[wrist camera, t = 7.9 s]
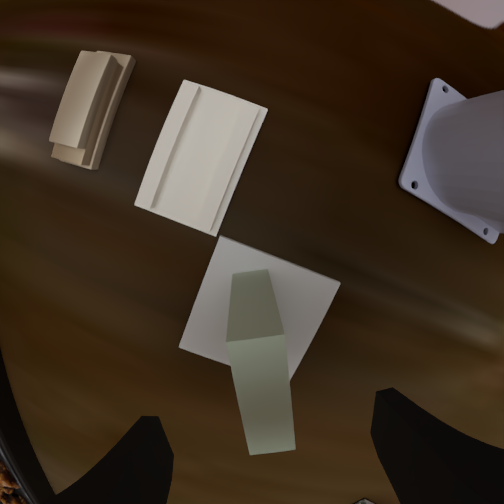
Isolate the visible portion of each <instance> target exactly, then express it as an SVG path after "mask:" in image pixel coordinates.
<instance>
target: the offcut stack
mask: <svg viewBox="0 0 504 504" xmlns="http://www.w3.org/2000/svg"><path fill="white" fill-rule="evenodd" d="M135 63H136V60H135V59H134V58H133V57H132V56H130V55H124V54H117V53H110V52H102V51H97V52H89V51H81V53H80V55H79V57H78V59H77V62H76V64H75V67H74V69H73V71H72V74H71V76H70V79H69V81H68V84H67V87H66V89H65V92H64V95H63V98H62V101H61V103H60V106H59V109H58V112H57V115H56V118H55V122H54V125H53V128H52V131H51V135H50V138H49V141H52V142H55V145H54V148H53V152H52V156H51V157H54V158H58V159H60V161H63V162H67V163H70V164H74V165H77V166H81V167H84V168H87V169H91V170H98V168H99V164H100V161H101V157H102V154H103V151H104V147H105V144H106V141H107V138H108V135H109V132H110V129H111V126H112V123H113V120H114V117H115V114H116V111H117V108H118V106H119V103H120V100H121V98H122V95H123V92H124V90H125V87H126V85H127V82H128V80H129V77H130V75H131V72H132V70H133V68H134V65H135Z"/></svg>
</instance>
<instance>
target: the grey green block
mask: <svg viewBox="0 0 504 504" xmlns="http://www.w3.org/2000/svg"><path fill="white" fill-rule="evenodd" d="M226 345H227V350H228V355H229V360H230V365H231V370H232V375H233V380H234V385H235V390H236V394H237V399H238V404H239V409H240V413H241V418H242V422H243V427H244V431H245V436H246V440H247V445H248V449H249V454H250V455H255V454H265V453H273V452H281V451H288V450H295V437H294V425H293V414H292V403H291V392H290V381H289V371H288V361H287V351H286V341H285V333H284V329H283V325H282V322H281V318H280V314H279V310H278V306H277V303H276V299H275V295H274V291H273V288H272V284H271V280H270V276H269V273H268V269H263V270H256V271H248V272H241V273H233V274H232V284H231V295H230V305H229V315H228V326H227V337H226Z"/></svg>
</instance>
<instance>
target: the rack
mask: <svg viewBox="0 0 504 504" xmlns="http://www.w3.org/2000/svg"><path fill="white" fill-rule="evenodd" d="M267 111H268V109H266V108H264V107H261V106H259V105H256V104H254V103H251V102H248V101H246V100H243V99H240V98H237V97H235V96H232V95H229V94H226V93H223V92H221V91H218V90H215V89H212V88H209V87H206V86H203V85H199V84H196V83H193V82H190V81H187V80H184V81H183V83H182V85H181V87H180V89H179V92H178V94H177V96H176V98H175V101H174V103H173V105H172V107H171V110H170V112H169V114H168V117H167V119H166V121H165V124H164V126H163V129H162V131H161V134H160V136H159V139H158V141H157V144H156V146H155V149H154V151H153V154H152V157H151V159H150V162H149V165H148V167H147V170H146V173H145V175H144V178H143V181H142V184H141V187H140V190H139V193H138V196H137V198H136V201H135V205H136V206H138V207H141V208H143V209H146V210H149V211H151V212H154V213H156V214H159V215H161V216H164V217H167V218H169V219H172V220H174V221H177V222H179V223H182V224H185V225H187V226H190V227H192V228H195V229H197V230H200V231H203V232H205V233H208V234H210V235H213V236H215V237H216V235H217V233H218V230H219V228H220V225H221V223H222V220H223V218H224V215H225V212H226V210H227V207H228V205H229V202H230V200H231V197H232V195H233V192H234V190H235V187H236V185H237V183H238V180H239V178H240V175H241V173H242V170H243V168H244V165H245V163H246V161H247V158H248V156H249V153H250V151H251V149H252V146H253V144H254V141H255V139H256V137H257V134H258V132H259V130H260V127H261V125H262V123H263V120H264V118H265V116H266V113H267Z"/></svg>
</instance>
